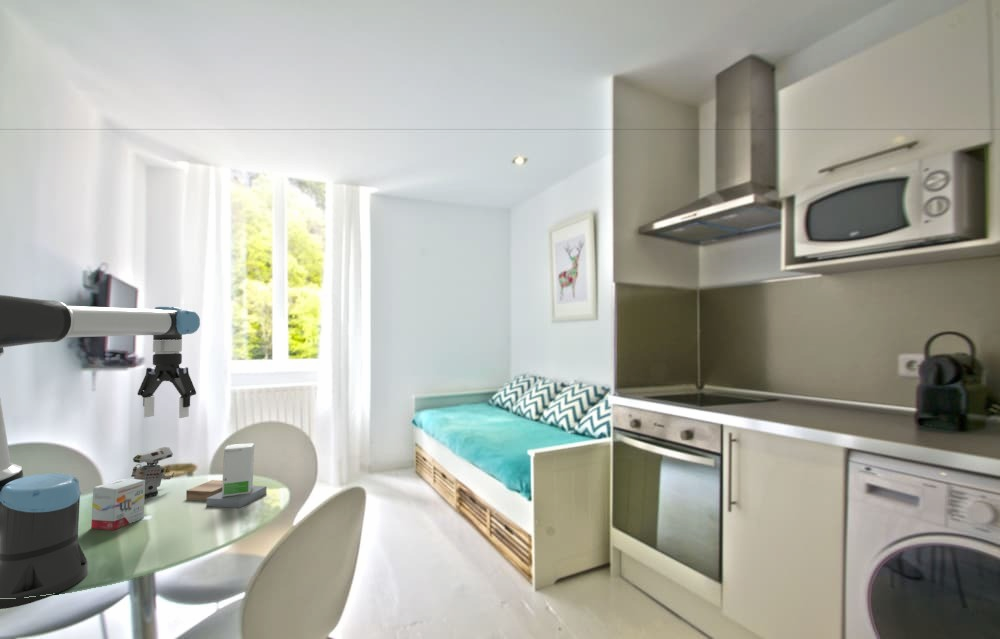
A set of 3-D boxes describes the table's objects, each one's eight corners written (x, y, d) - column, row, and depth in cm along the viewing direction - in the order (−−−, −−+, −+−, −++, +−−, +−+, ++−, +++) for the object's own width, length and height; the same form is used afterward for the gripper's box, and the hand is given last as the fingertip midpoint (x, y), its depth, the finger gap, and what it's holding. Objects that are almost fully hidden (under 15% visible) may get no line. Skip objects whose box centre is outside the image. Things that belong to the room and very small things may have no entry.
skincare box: (221, 497, 131) (222, 449, 132) (225, 491, 137) (226, 444, 138) (251, 493, 135) (251, 446, 136) (254, 486, 141) (254, 441, 142)
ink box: (113, 530, 115) (114, 488, 115) (90, 528, 117) (91, 487, 117) (145, 517, 123) (146, 478, 124) (123, 515, 125) (124, 476, 126)
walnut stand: (211, 500, 135) (212, 491, 136) (186, 499, 137) (186, 490, 137) (235, 489, 145) (236, 481, 145) (211, 488, 147) (211, 480, 147)
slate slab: (239, 508, 129) (239, 500, 129) (206, 506, 131) (206, 498, 131) (266, 493, 141) (266, 486, 141) (236, 492, 143) (236, 484, 143)
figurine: (177, 489, 146) (178, 448, 147) (136, 500, 137) (137, 456, 137) (168, 485, 151) (169, 444, 152) (128, 495, 142) (129, 452, 142)
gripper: (209, 352, 137) (208, 415, 136) (147, 352, 141) (146, 414, 140) (189, 353, 129) (188, 419, 128) (124, 353, 133) (122, 418, 132)
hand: (166, 417), depth 134 cm, fingers open, 13 cm apart
